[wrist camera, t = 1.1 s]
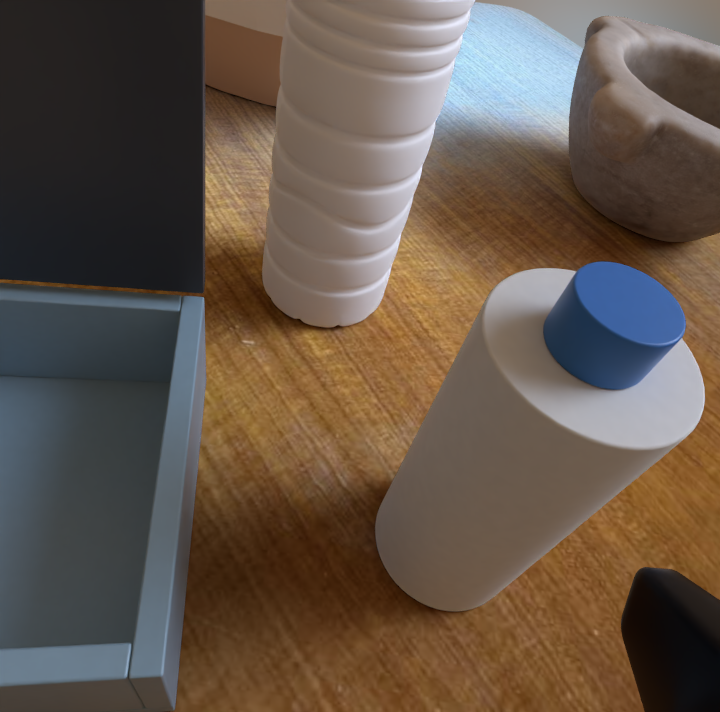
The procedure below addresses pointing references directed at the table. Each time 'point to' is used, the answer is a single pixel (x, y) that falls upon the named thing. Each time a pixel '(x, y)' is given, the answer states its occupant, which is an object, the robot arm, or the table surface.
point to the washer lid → (103, 143)
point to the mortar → (648, 129)
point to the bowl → (244, 47)
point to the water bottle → (351, 146)
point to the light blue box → (96, 494)
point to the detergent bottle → (537, 428)
